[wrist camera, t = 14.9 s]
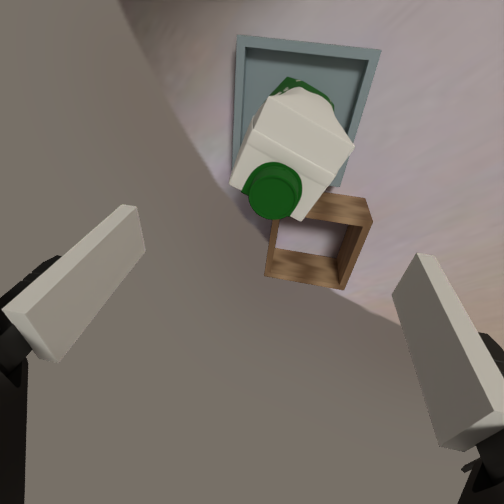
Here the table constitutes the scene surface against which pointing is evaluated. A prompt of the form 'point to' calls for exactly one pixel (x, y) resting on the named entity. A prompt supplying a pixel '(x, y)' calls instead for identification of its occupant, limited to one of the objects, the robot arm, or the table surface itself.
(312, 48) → the tray
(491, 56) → the table surface
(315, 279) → the holder
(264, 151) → the soya milk
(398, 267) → the table surface
